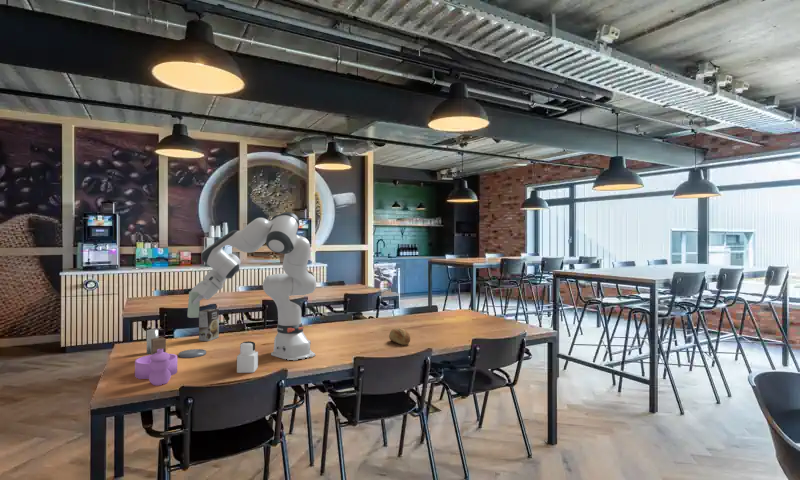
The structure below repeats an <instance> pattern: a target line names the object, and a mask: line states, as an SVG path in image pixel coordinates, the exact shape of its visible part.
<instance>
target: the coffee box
mask: <svg viewBox="0 0 800 480" xmlns="http://www.w3.org/2000/svg"><path fill="white" fill-rule="evenodd" d="M219 317H220V308H208V309H203V310H199V317H198V341H203V342H209V341H213V340H216V339H219V334H220V332H219V330H220V325H219V324H220V320H219V319H220V318H219Z"/></svg>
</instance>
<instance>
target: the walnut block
mask: <svg viewBox="0 0 800 480" xmlns="http://www.w3.org/2000/svg"><path fill="white" fill-rule="evenodd" d="M166 346H167V339H166V338H165V337H159V338H153V339H151V354H150V355H153V354H155V353H157V350H158V349H163V352H166V353H167V350H166V349H167V347H166Z"/></svg>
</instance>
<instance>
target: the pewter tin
mask: <svg viewBox="0 0 800 480" xmlns="http://www.w3.org/2000/svg"><path fill="white" fill-rule="evenodd" d="M159 333H160V331H159V328H152V329H151V328H150V329H147V330H146V354H147V355H151V339H153V338H160V336H159V335H160V334H159Z"/></svg>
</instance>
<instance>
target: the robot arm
mask: <svg viewBox="0 0 800 480" xmlns="http://www.w3.org/2000/svg"><path fill="white" fill-rule="evenodd" d="M299 227H300V218H299V217H298V215H296V214H295V213H294V212H292V211H284V212H281V213H280V214H277V215H273V216H272V218H271V220H268V218H267V219H266V218H265V217H257V218H255V219H253V220H252V221H251V222H249V223H247V225H246V226H245V227H244V228H243V229H242V230H236V229H234V230H231V231H229V232H228V233H226V234H224V236H222V237H221V238H219V239H218V240H216V241H215V242H214V243H212V244H209V245H207V246H206V247H205V248H203V250H202V252H201V254H200V256H201V257H200V258H201V261H202V262H203V263H204V264H206V265H207V266H209V267H210V268H212V269H211V270H209V272H207V273H206V274H205V275H204V277H203V280H201V281H199V282H198V283H197V284H196V285H195V286H193V288H192V289H191V290H190V292H198V294H199V295H198V297H197V298H196V299H195V300H193V301H192V303H193V304H194V305H195V304H196V303H197V302H199V301H200V302H201V301H202V300H203V299H205V300H209V299H211V298H212V297H213V296H215V294H217V293H218V292H219V291H220V290H222V289H223V288H224V283H226V280H227V279H229V280H230V279H232V278H233V277H234V276H235V275H236V274H237V273H238V272H239V271H240V265H241V263H242V261H241V259H240V257H238V256H237V255H236V254H235V253H229V254H228V253H227V252H226V251H225V250H224V249H223V248H224V247H226V246H230V247H233V248H235V249H237V250H239V251H241V252H244V253H248V254H249V253H250V254H251V253H255V252H256V251H257V252H258V250H259V249H260V248H261V247H263V246H264V244H266V247H267V248H268V249H269V250H270V251H271V252H274V253H276V254H281V255H282V254H283V255H284V257H283V261H282V270H283V271H284V273H275V274H270V275H269V274H268V275H267V276H266V277H265V278H264V280H263V282H262V289H263V292H264V293H265V294H266V296H269V297H270V298H271V299H272V300H273V302H274V303H275V305H276V309H277V318H278V319H277V325H276V326H277V327H276V332H277V334H276V335H275V337H274V340H273V341H274V343H273V351H271V353H270V354H271V356H272V357H276V358H280V359H283V360H286V359H287V360H286V361H289V360H293V361H299V360H298V359H302V360H306V359H305V358H307V359H310V358H309V357H311V358H313V356H314V357H316V353H315V352H313V351H312V350H311V344H312V343H311V340H310V339H308V337H307V336H306V335H305V333H304V326H303V323H302V308H301V306H300V305H299V304H298V303H296V302H293V301H291V300H290V297H291V296H306V295H310V294H312V293H314V292H315V290H316V287H317V280H316V277H315V276H314V275H313V274H312V273H310V272H309V271H308V270H307V269H308V268H307V267H308V263H309V258H310V252H311V245H310V244H311V243H310V241H309V240H308V239H307V238H306V237H305V236H302V235H298V234H297V232H298V230H299ZM188 301H189V299H188ZM188 301H187V302H188Z"/></svg>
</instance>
